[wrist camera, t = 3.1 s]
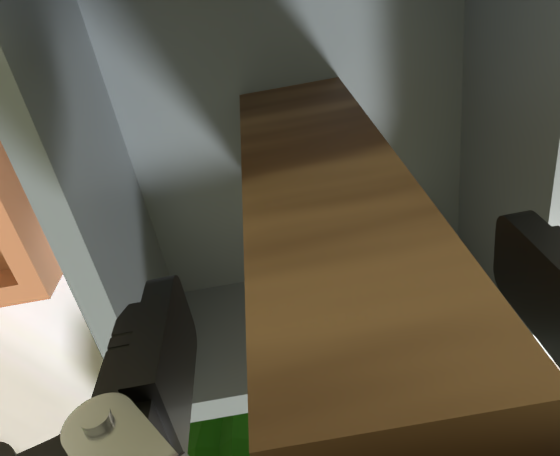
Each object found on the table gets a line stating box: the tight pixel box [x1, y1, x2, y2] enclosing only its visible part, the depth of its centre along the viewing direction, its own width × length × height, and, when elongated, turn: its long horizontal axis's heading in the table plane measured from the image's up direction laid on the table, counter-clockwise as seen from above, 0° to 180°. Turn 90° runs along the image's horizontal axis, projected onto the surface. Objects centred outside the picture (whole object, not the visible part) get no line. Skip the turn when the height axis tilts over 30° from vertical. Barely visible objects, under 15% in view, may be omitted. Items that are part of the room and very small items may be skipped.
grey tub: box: [0, 0, 560, 423], centre depth 18 cm, size 16×16×8 cm
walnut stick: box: [239, 77, 560, 456], centre depth 14 cm, size 4×4×16 cm
